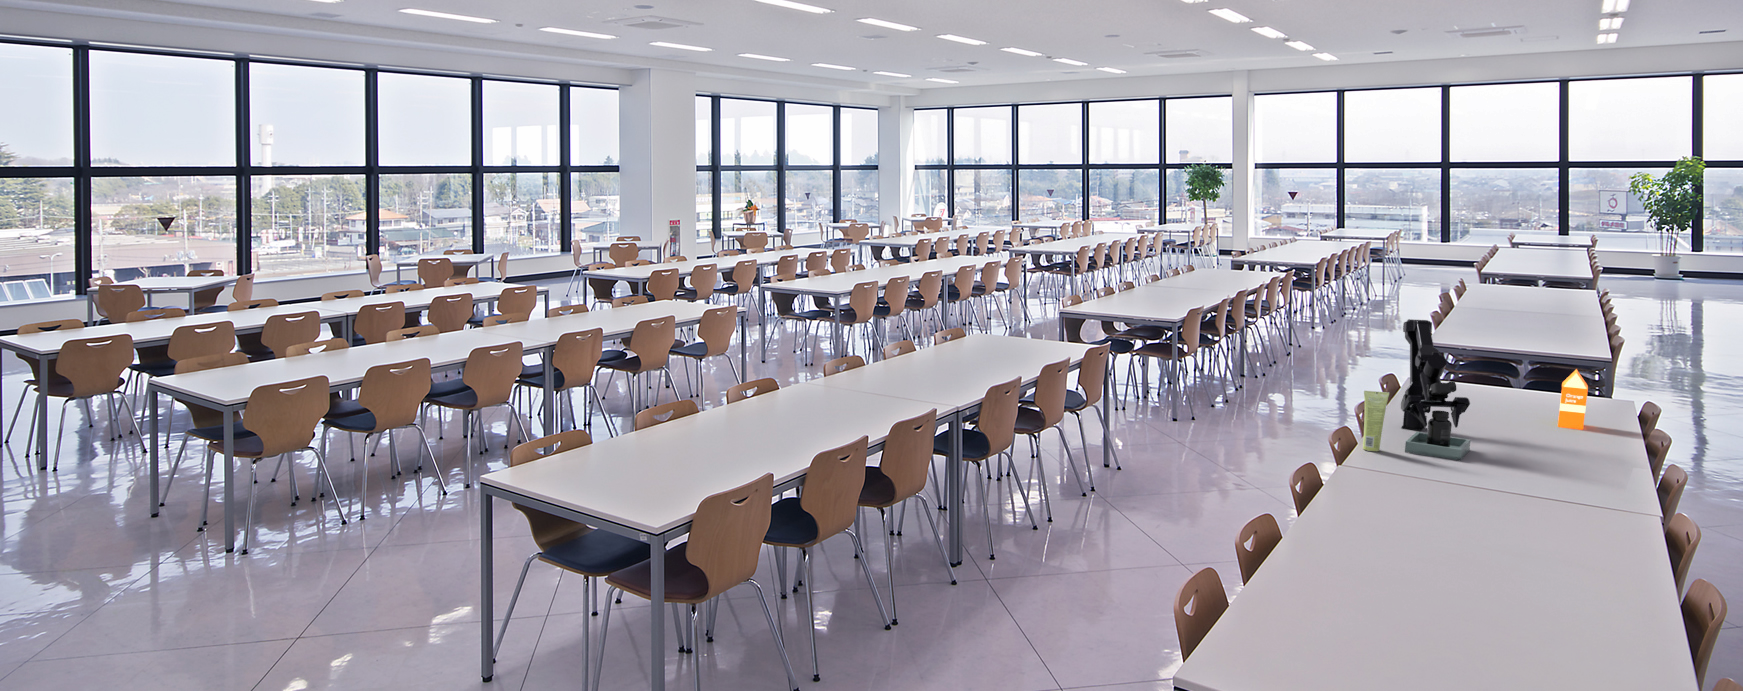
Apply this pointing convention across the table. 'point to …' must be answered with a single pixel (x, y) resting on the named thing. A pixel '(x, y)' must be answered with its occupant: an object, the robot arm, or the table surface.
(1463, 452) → the tray
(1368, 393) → the tube
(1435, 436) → the supplement bottle
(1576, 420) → the orange juice
